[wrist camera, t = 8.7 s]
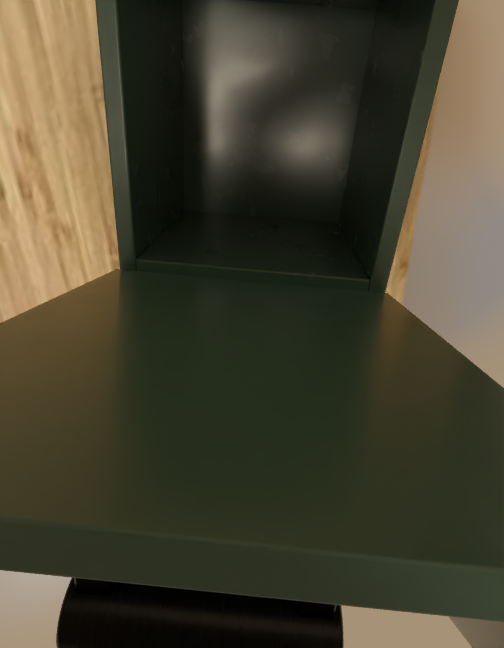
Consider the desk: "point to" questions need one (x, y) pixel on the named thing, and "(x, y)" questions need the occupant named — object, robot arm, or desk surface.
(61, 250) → the desk surface
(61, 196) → the desk surface
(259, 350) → the lid
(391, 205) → the dark green box
